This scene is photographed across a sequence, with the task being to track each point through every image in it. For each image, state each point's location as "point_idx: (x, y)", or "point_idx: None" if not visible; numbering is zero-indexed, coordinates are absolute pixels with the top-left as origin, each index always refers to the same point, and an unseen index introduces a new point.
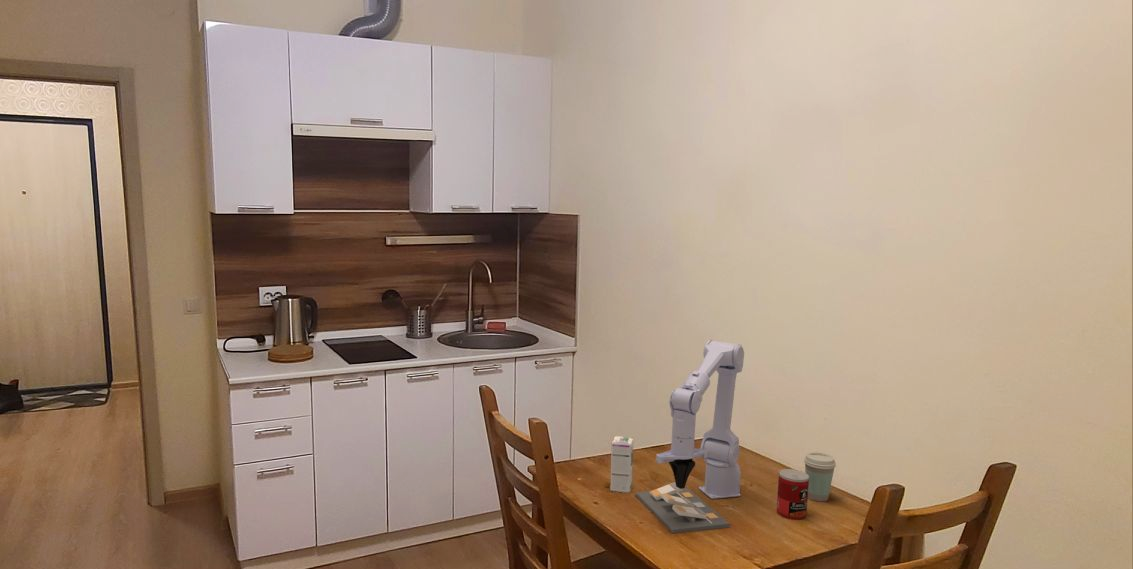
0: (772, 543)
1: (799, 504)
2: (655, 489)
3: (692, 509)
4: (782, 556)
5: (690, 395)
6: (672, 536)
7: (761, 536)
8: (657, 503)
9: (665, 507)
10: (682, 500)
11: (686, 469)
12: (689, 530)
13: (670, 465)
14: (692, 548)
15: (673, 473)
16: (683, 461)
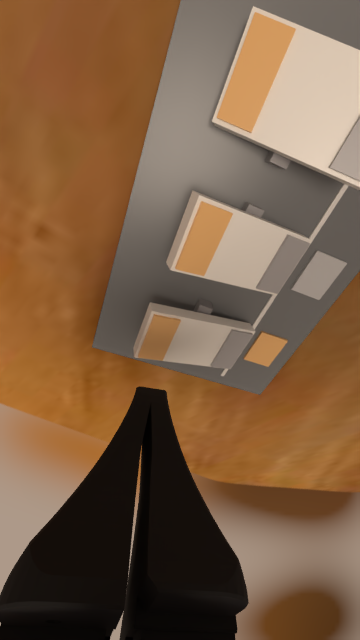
0: (256, 453)
1: None
2: (285, 31)
3: (214, 339)
4: (223, 476)
5: None
6: (85, 349)
7: (269, 434)
8: (199, 153)
9: None
10: (260, 260)
11: (130, 566)
12: None
13: (62, 507)
14: (92, 403)
15: (108, 445)
16: (128, 628)
